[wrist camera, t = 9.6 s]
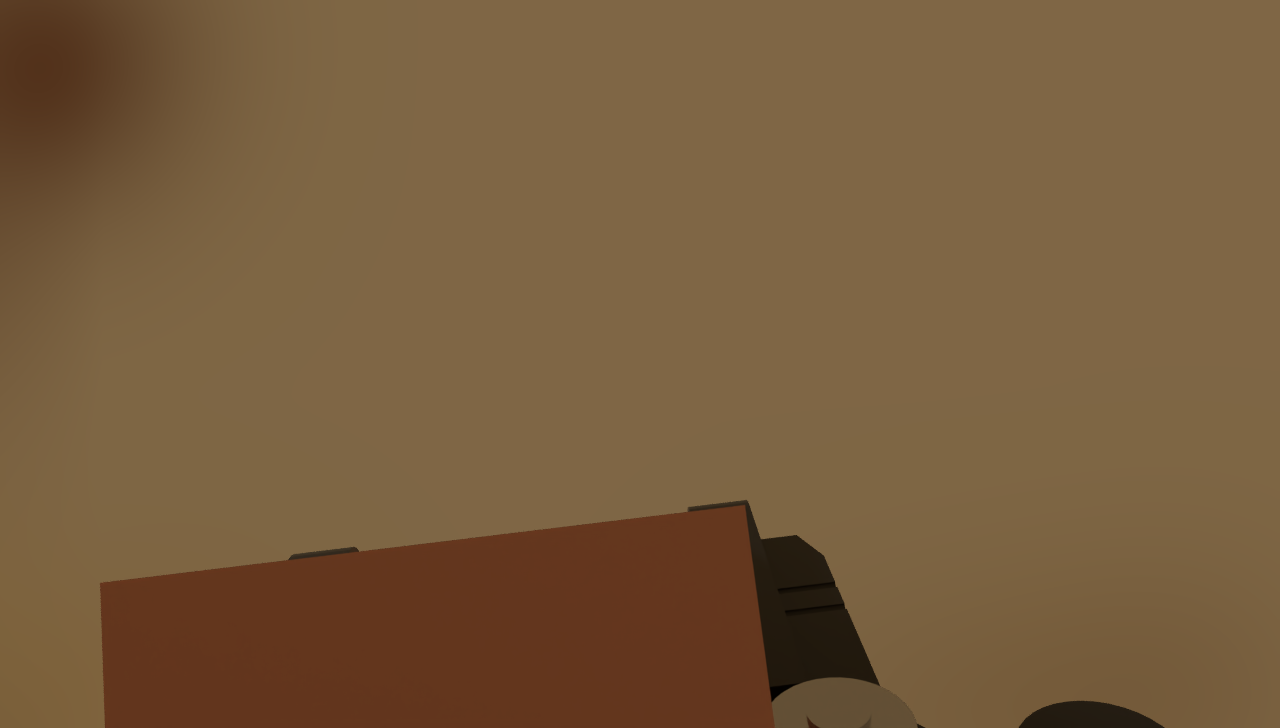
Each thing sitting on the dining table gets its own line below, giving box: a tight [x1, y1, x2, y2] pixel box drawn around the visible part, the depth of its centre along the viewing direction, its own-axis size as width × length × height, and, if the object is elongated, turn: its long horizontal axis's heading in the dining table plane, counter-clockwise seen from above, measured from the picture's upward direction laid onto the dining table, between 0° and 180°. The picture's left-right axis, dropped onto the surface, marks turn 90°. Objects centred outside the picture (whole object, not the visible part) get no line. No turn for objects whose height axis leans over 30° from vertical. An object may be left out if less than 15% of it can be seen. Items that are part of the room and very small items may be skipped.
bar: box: [100, 505, 775, 728], centre depth 19 cm, size 26×4×4 cm, turn 0°
